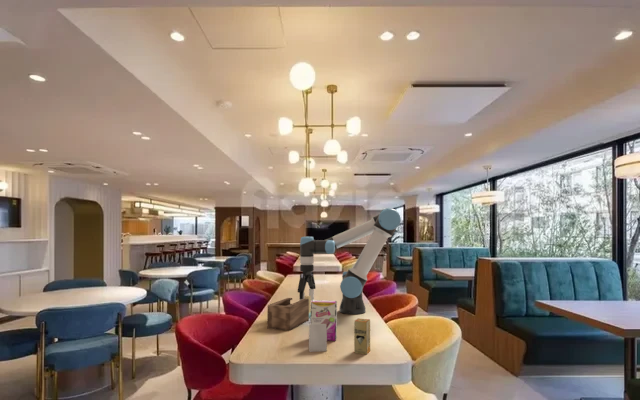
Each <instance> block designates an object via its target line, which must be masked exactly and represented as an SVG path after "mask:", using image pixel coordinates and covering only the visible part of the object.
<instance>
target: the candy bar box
mask: <svg viewBox="0 0 640 400" xmlns="http://www.w3.org/2000/svg"><path fill="white" fill-rule="evenodd" d="M337 315H338V301H337V300H327V299H326V300H325V299H324V300H323V299H321V300H320V299H314V300H312V301H311V318H310V324H326V329H327V342H336V341H337V338H338V336H337V333H338V332H337V329H338V327H337V325H338V323H337V322H338V321H337V320H338V319H337V318H338V316H337Z"/></svg>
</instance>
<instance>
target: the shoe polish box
mask: <svg viewBox="0 0 640 400" xmlns="http://www.w3.org/2000/svg"><path fill="white" fill-rule="evenodd" d="M353 331H354V332H353V336H354V337H353V338H354V339H353V340H354V342H353V343H354V344H353V348H354V349H353V350H354V351H353V352H354V354H361V355H368V354H369V353H370V352H371V319H369V318H368V319H367V318H356V319H355V320H354V321H353Z"/></svg>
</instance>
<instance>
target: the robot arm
mask: <svg viewBox="0 0 640 400" xmlns="http://www.w3.org/2000/svg"><path fill="white" fill-rule="evenodd" d="M401 218H402V217H401V214H400V213H399V212H398V211H397V210H396V209H394V208H392V207H388V208H384V209H382V210H381V211H380V213H378V214H377V215H375V216H373V217H371V219H370V220H368V221H366V222H364V223H361V224H359V225H356V226H354V227H352V228H350V229H346V230H345V231H343V232H340V233H337V234H335V235H334V236H331V237H328V238H326V239H324V240H323V239H320V240H319V239H317V240H316V239H314V236H302V237H300V243H299V244H300V245H299V248H300V250H299V253H300V254H299V255H300V256H299V263H300V264H299V270H300V272H302V273H299V283H298V287H297V294H298V293H299V299H298V300H299V301H300V300H303V299H305V296H306V295H305V289H306V286H307V285H308V287H309V288H308V296H311V301H312V300H315V296H314V295H315V290H316V282H315V277H314V266H315V265H314V261H315V260H314V255H315V254H318V255H319V254H320V255H321V254H324V255H326V254H328V255H329V254H331V255H332V254H335V252H336V250H337V249H339V248H341V247H344V246H346V245H349V244H351V243H354V242H355V241H359V240H361V239H363V238H365V237H367V236H370V237H369V239H368V240H367V242H366V244H365V246H364V247H363V249H362V251H361V253H360V255H359V256H358V258H357V260H356V262H355V263H354V265H353V267H351V268H348V270H347V271H343V272H342V275H341V278H342V279H341V282H340V285H339V288H340V292H341V294H342V298H341V302H340V305H339V312H340V313H342V314H346V315H360V314H365V313H366V305H365V302H364V299H363V289H364V286H365V285H366V283H367V281H368V274H369V272H370V270H371V269H372V267H373V265H374V263H375V261H376V260H377V258H378V256H379V255H380V252H381V251H382V249H383V247H384V245H385V244H386V243H387V240H388V238H392V237H393V235H394V233H395V231H396V230H397V228H398V227H399V226H400V225H401V220H402V219H401Z"/></svg>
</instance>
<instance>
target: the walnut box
mask: <svg viewBox="0 0 640 400" xmlns="http://www.w3.org/2000/svg"><path fill="white" fill-rule="evenodd" d="M291 301H293V298H292V297H286V298H284V299H280V300H278V301H275V302H273V303H270V304H267V316H266V317H267V318H266V319H267V321H266V322H267V323H266V324H267V329H269V330H280V331H293V330H294V329H296V328H297V327H299V326H301V325H304V324H305V323H306V322H308V321H309V320H310V318H309V299H303V300H300V301H296V302H293V303H291Z"/></svg>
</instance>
